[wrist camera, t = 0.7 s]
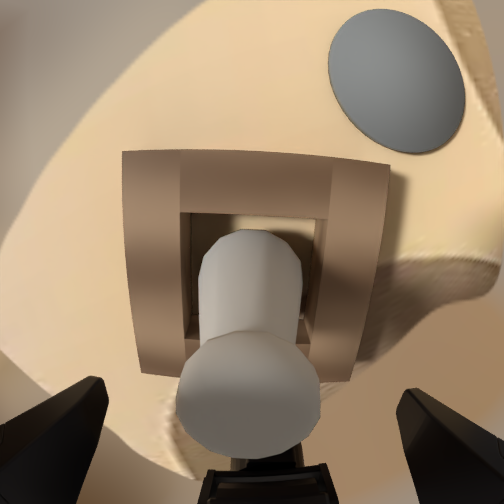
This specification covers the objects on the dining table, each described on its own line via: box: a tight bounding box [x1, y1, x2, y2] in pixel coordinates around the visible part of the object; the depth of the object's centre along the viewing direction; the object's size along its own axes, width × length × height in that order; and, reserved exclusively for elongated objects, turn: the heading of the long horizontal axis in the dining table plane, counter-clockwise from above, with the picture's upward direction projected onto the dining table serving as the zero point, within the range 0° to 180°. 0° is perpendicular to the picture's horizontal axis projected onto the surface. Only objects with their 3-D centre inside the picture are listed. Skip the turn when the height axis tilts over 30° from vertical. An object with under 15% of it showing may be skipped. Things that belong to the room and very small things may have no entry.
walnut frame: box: [122, 149, 390, 383], centre depth 18 cm, size 14×14×3 cm
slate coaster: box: [328, 9, 465, 153], centre depth 16 cm, size 10×10×1 cm
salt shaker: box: [176, 229, 320, 459], centre depth 14 cm, size 6×6×13 cm
